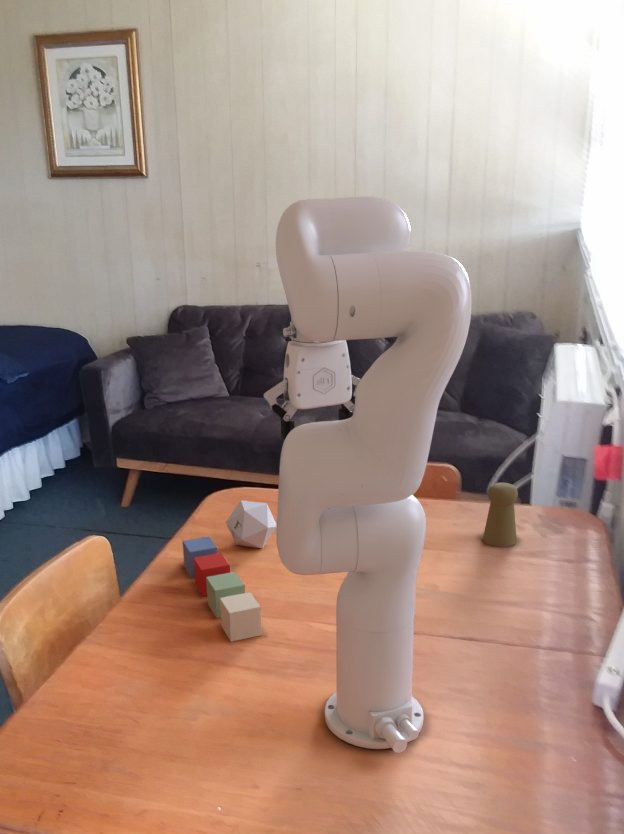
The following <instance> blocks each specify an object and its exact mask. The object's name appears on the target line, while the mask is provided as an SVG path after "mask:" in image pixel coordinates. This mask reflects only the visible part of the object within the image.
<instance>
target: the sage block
mask: <svg viewBox="0 0 624 834" xmlns="http://www.w3.org/2000/svg"><path fill="white" fill-rule="evenodd" d="M206 584H207V596H206V599H207V606H208V607H209V609H210V610H211V612H212V614H213V615H214V617H215V619H221V613H220V598H223V597H228V596H233V595H238V594H243V593H246V586H245V585H246V584H245V583H244V582H243V580H242V579H241V577H240V576H239V575H238V574H237V572H236V571H230V573H225V574H220V575H215V576H210V577H206Z"/></svg>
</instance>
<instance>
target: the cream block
mask: <svg viewBox="0 0 624 834" xmlns="http://www.w3.org/2000/svg"><path fill="white" fill-rule="evenodd" d="M261 608H262V607H261V605H260V604H259V602H258V601H257V600H256V598H255V597H254V595H253V594H252V593H251V592H250V591H249V592H245V593H243V594H238V595H233V596H228V597H223V598H220V613H221V617H220V626H221V628H222V630H223V631H224V633H225V634H226V636H227V638H228V639H229V641H230V642H231V643H232V642H237V641H241V640H245V639H250V638H254V637H260V636H262V631H263V630H262V609H261Z"/></svg>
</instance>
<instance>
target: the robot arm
mask: <svg viewBox="0 0 624 834" xmlns="http://www.w3.org/2000/svg"><path fill="white" fill-rule="evenodd" d="M409 221H410V220H409V219H408V217H407V214H406V213H405V211H404V210H403V209H402V208H401V207H400V206H399V205H398V204H397V203H395V202H392V201H391V200H389V199H387V198H383V197H378V196H376V197H375V196H348V197H347V196H346V197H345V196H344V197H328V198H324V197H323V198H308V199H301V200H298V201H295V202H292V203H291V204H289V206H287V207H286V208H285V210H284V211H283V212H282V213H281V216H280V219H279V221H278V224H277V227H276V233H275V255H276V261H277V267H278V271H279V276H280V279H281V283H282V287H283V291H284V293H285V298H286V301H287V302H286V303H287V306H288V309H289V314H290V321H289V326H287V327H284V328H282V335H283V337H284V338H287V337H289V339H291V340H290V341H288V342H287V346H286V350H285V357H284V363H283V366H284V367H283V379H282V381H280V382H279V383H277V384H275V385H274V386H273V387H272V388H270V389H269V390H267V391H266V392H264V393H263V399H264V401H265V402H266V403H267V405H268V407H269V409H270V410H271V412H273V413H275V415H276V416H277V417H279V418H280V436H281V439H283V444H282V446H281V452H280V459H279V472H278V490H277V512H276V524H277V528H276V529H275V532H276V533H275V534H276V536H275V537H276V547H277V552H278V557H279V559H280V561H281V563H282V565H283V566H284V568H285V569H286V570H288V571H289V572H290V573H292V574H295V575H300V576H314V575H315V576H317V575H328V574H339V573H347V574H346V576H345V577H344V578H343V580H342V582H341V584H340V587H339V589H338V592H337V596H336V604H335V605H336V609H335V613H336V615H335V617H336V619H335V621H336V622H335V623H336V625H335V626H336V627H335V628H336V629H335V631H336V633H335V635H336V636H335V637H336V639H335V641H336V642H335V643H336V647H335V650H336V651H335V652H336V653H335V655H336V663H335V664H336V665H335V666H336V674H335V675H336V681H335V683H336V691H335V692H333V693H332V694H331V696H330V697H328V699H327V701H326V702H325V705H324V721H325V724H326V725H327V727H328V729H329V731H330V732H331V733H332V734H333V735H335V736H336V737H337V738H339V739H340V740H341V741H344V742H346V743H348V744H350V745H353V746H355V747H360V748H363V749H371V750H386V749H392V751H393V752H394V753H396V754H400V753H402V752H404V751H405V750H406V749H407V748H408V743H409V742H411V741H415V740H416V739H418V737H419V736H420V733H421V731H422V729H423V726H424V718H425V717H424V710H423V708H422V706H421V704H420V702H418V700H417V699H416V698H415V697H414V696H413V671H414V670H413V669H414V641H415V640H414V639H415V638H414V637H415V617H416V615H415V614H416V611H415V610H416V594H417V593H416V592H417V582H418V580H417V579H418V574H419V567H420V563H421V559H422V553H423V551H424V550H423V549H424V545H425V541H426V534H427V518H426V513H425V510H424V507H423V506H422V504H421V502H420V501H419V499H417V498H416V496H414V494H416V492H417V491H418V490H419V488H420V486H421V484H422V482H423V479H424V476H425V473H426V468H427V465H428V459H429V455H430V450H431V444H432V440H433V435H434V429H435V426H436V421H437V420H436V419H437V414H438V408H439V405H440V402H441V399H442V396H443V394H444V393H445V390H446V388H447V386H448V384H449V382H450V379H451V377H452V375H453V374H454V371H456V367H457V365H458V363H459V362H460V359H461V356H462V354H463V351H464V348H465V345H466V343H467V338H468V335H469V330H470V325H471V319H472V318H471V317H472V288H471V282H470V279H469V275H468V273H467V270H466V269H465V267H464V266H463V264H461V263H460V261H458V260H457V259H455V258H454V257H452V256H450V255H448V254H445V253H440V252H436V251H431V250H430V251H429V250H408V248H409V245H410V241H411V236H412V235H411V225H410V222H409ZM383 338H384V339H385V338H396V340H395V342H394V343H393V344H392V345H391V346H390V347H389V348H388V349H387V350H385V351H384V352H383V353H381V355H379V357H377V359H376V360H375V361H374V362H373V363H372V364H371V366H370V367H369V368H368V369H367V371H365V373H364V374H363V376H362V377H361V378H359V377H357V376H355V375H353V374H352V368H351V360H350V359H351V358H350V354H349V347H348V343H347V341H353V340H354V341H355V340H369V339H370V340H371V339H383ZM353 385H354V386H355V389H354V391H353ZM282 394H283V400H284V402H283V404H282V405H279V403H278V401H277V398H278V397H279V396H281V395H282ZM338 405H340V406H341V407H339V409H338V420H328V421H327V420H326V421H313V422H308V423H303V424H300V425H297V426H296V427H295V421H294V420H293V419H292V418H293V417H294V415H295V414H296V412H297V411H298V410H309V409H317V408H324V407H331V406H338Z"/></svg>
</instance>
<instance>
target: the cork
mask: <svg viewBox="0 0 624 834" xmlns="http://www.w3.org/2000/svg"><path fill="white" fill-rule="evenodd" d="M487 496H488V500H489V501H490V503H489V507H488V513H487V517H486V521H485V527H484V530H483V536H482V540H483V542H484V543H485V544H488V545H489V546H493V547H499V548H500V547H501V548H506V547H512V546H514V545H516V543H518V542H517V526H516V511H515V503H516V502H517V500H518V497H519V492H518V489H517V487H516V486H515V485H513V484H511V483H508V482H495V483H493V484H491V485H490V487H489V488H488V491H487Z"/></svg>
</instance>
